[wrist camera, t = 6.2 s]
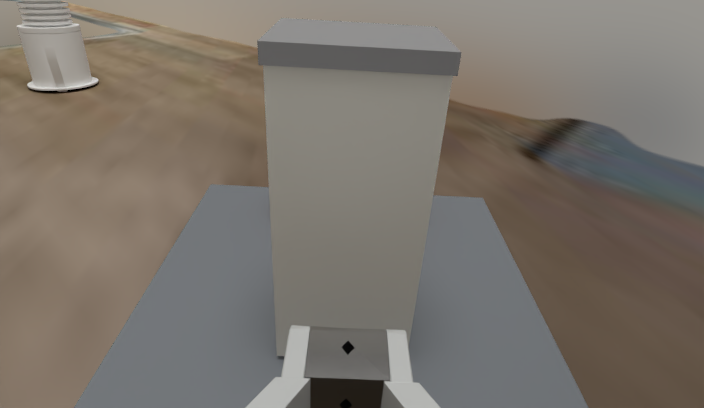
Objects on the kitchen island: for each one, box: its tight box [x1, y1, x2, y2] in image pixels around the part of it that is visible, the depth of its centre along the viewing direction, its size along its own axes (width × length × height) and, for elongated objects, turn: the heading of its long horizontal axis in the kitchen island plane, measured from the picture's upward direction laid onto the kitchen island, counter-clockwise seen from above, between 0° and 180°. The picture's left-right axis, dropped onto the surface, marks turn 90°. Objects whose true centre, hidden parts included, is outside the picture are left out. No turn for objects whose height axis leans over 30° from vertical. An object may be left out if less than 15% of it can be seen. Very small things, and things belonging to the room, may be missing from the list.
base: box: [74, 184, 588, 408], centre depth 21 cm, size 18×18×6 cm
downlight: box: [17, 0, 98, 92], centre depth 49 cm, size 8×7×10 cm
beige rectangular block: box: [257, 18, 461, 356], centre depth 16 cm, size 5×4×12 cm
